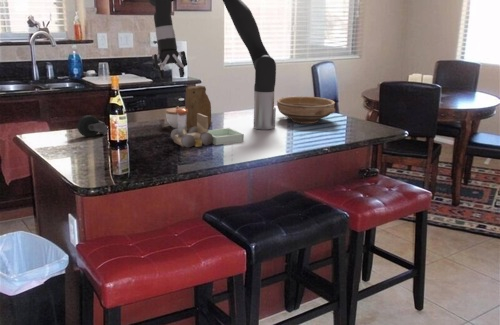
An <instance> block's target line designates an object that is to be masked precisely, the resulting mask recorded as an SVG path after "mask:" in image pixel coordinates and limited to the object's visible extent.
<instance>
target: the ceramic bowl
mask: <svg viewBox="0 0 500 325" xmlns="http://www.w3.org/2000/svg"><path fill="white" fill-rule="evenodd" d="M276 102H277V104H276V105H277V109H278V111H279V113H281V114H282V115H283V116H285V117H287V118H290V119H291V121H292V122H293V123H297V124H315V123H318V122H319V120H321V119H325V118H327V117H329V116H330V115H331V114H333V113H335V112H336V108H335V104H336V102H335V101H334V100H332V99H328V98H324V97H318V96H303V95H301V96H299V95H298V96H287V97H286V96H285V97H281V98H278V99H277V100H276Z"/></svg>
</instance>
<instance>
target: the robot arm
mask: <svg viewBox="0 0 500 325" xmlns="http://www.w3.org/2000/svg"><path fill="white" fill-rule="evenodd" d="M175 1H176V0H148V3H149V4H150V5H152V7H155V8H154V9H155V12H154V14H153V21H154V27H155V35H156V37H155V38H156V43H157V49H158V54H156V53H153V54H152V56H151V58H152V66H153V70H155V71H158V75H159V80H161V81H165V79H166V78H165V72H164V68H165V66H166V65H168V64H175V65H176V66H177V67H178V72H179V77H180V78H184V76H185V69H184V67H186V66H188V60H187V56H186V52H185V50H182V51H178V46H177V39H176V34H175V29H174V26H173V24H174V23H173V18H172V2H175ZM222 1H223V4H224V6H225V8H226V9H225V10H227V12H228V15H229V16H230V19H231V22H232V24H233V25H234V28H235V31H236V32H237V34H238V36H239V37H240V39H241V40H242V42H243V44H244V45H245V47H246V49H247V51H248V54H249V56H250V58H251V62H252V64H253V67H254V71H255V76H254V80H255V81H254V86H253V90H254V91H253V92H254V93H253V129H255V130H260V131H261V130H272V129H276V116H277V115H276V113H277V112H276V110H277V109H276V107H275V87H276V80H277V78H276V77H277V64H276V61H275V60H274V58H273V57H272V56H270V53H269V52H268V51H267V48H266V47H265V45H264V43H263V40H262V37H261V34H260V31H259V30H260V29H259V27H258V24H257V21H256V20H255V16H254V14H253V13H252V10H250V8H249V7H248V5H246V4H245V3H244V1H243V0H222ZM178 57H180V58H178ZM159 59H160V60H161V61H160V62H159V61H158V60H159Z"/></svg>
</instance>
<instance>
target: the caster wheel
mask: <svg viewBox="0 0 500 325" xmlns="http://www.w3.org/2000/svg"><path fill="white" fill-rule="evenodd" d="M107 127H108V126H107V125H106V123H105V121H104V122H103V121H102V120H99V119H98V118H97V117H95V116H93V115H90V114H87V115H84V116H81V118H79V120H78V122H77V130H78V133H79V134H80V135H82V136H83V137H85V138H93V137H96V136H97V134H99V133H100V134H99V135H101V134H103V135H104V136H106V135H107V133H108V132H109V129H108V128H107ZM103 135H102V136H103ZM92 136H93V137H92Z"/></svg>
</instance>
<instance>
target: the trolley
mask: <svg viewBox="0 0 500 325" xmlns="http://www.w3.org/2000/svg"><path fill="white" fill-rule="evenodd" d="M170 138H171V139H172V140H173V143H175V144H177V145H179V146H181V147H182V148H184V147H186V148H192V147H193V146H194V147H195V148H196V147H197V148H198V147H202V146H203V145H205V146H208V145H210V144H213V143H212V141H213V136H212V134H210V133H208V117H207V116H205V115H202V114H200V113H198V114H197V127H191V128H190V129H189V130H188V131H187V134H185V135H184V136H183V137H182V138H180V137H178V128H173V130H171V133H170Z"/></svg>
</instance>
